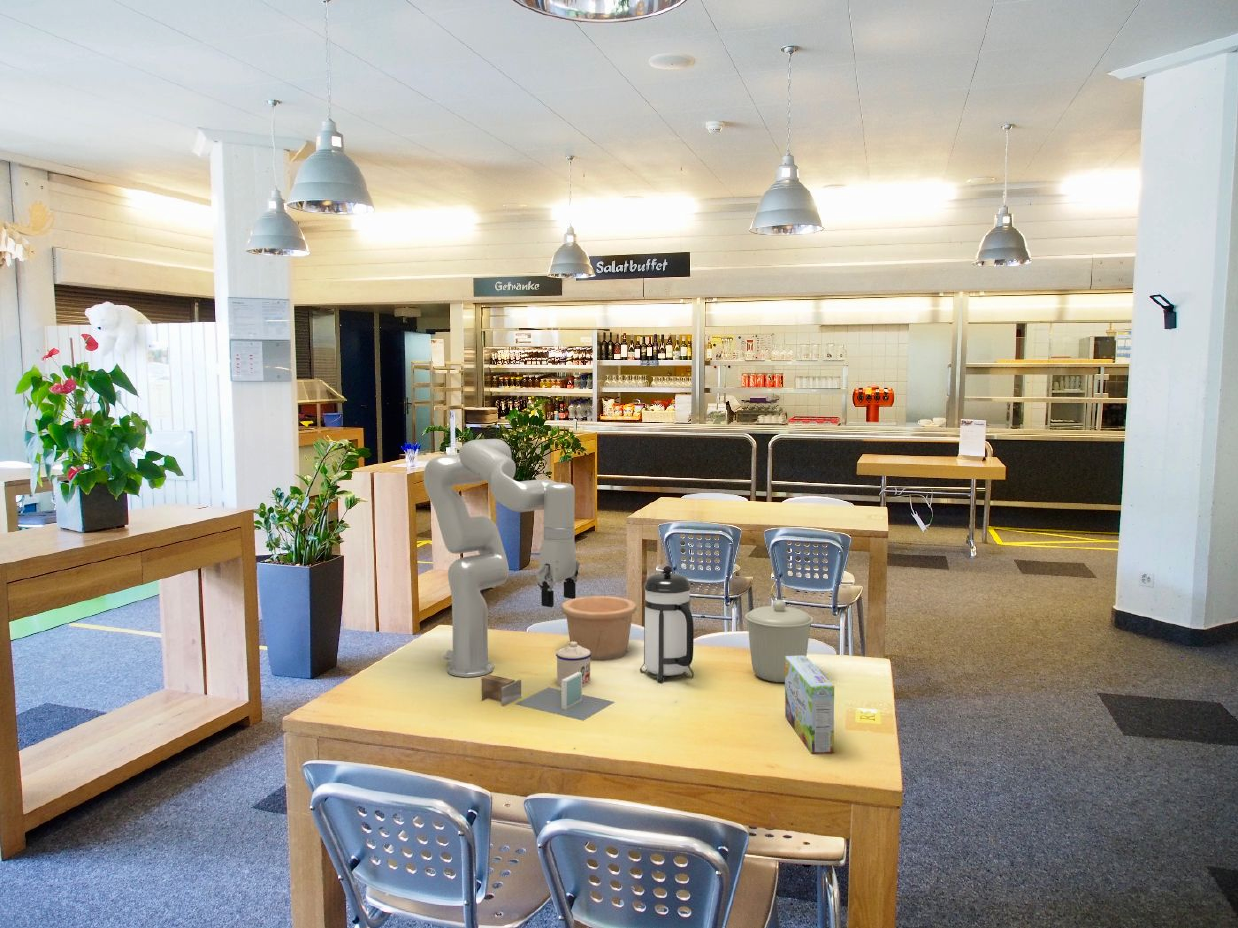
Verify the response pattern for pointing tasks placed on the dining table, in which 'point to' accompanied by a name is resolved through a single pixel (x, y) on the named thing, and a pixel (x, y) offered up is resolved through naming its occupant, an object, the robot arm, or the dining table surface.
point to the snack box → (809, 704)
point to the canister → (776, 638)
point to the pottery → (600, 624)
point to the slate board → (553, 703)
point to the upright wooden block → (500, 689)
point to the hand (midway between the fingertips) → (558, 602)
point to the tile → (571, 690)
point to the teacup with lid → (573, 663)
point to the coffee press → (667, 625)
